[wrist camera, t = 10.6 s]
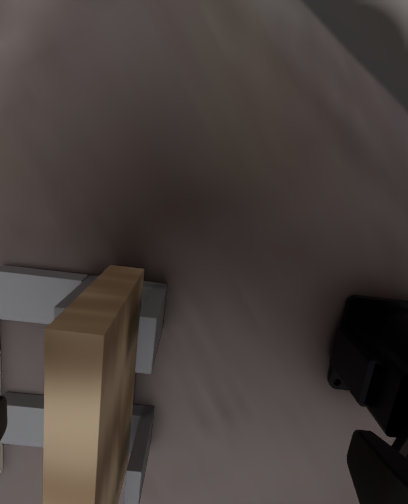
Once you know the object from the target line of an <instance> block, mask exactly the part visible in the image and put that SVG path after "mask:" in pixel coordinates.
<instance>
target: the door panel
mask: <svg viewBox="0 0 408 504" xmlns="http://www.w3.org/2000/svg"><path fill="white" fill-rule="evenodd" d="M143 279H144V269H141V268H133V267H124V266H115V265H110V266H109V267H107V268H106V269H105V270H104V271H103V272H102V273H101V274H100V275H99V276H98V277H97V278H96V279H95V280H94V281H93V282H92V283H91V284H90V285H89V286H88V287H87V288H86V289H85V290H84V291H83V292H82V293H81V294H80V295H79V296H78V297H77V298H76V299H75V300H74V301H73V302H72V303H71V304H70V305H69V306H68V307H67V308H66V309H65V310H64V311H63V312H62V313H61V314H60V315H59V316H57V317H56V318H55V319H54V320H53V321H52V322H51V323H50V324H49V325H48V326H47V327H46V328H45V360H44V459H43V504H118V501H119V497H120V493H121V489H122V485H123V481H124V477H125V473H126V469H127V465H128V456H129V445H130V433H131V421H132V409H133V397H134V386H135V374H136V373H135V367H136V355H137V343H138V331H139V320H140V315H141V303H142V291H143Z"/></svg>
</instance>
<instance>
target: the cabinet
mask: <svg viewBox="0 0 408 504" xmlns="http://www.w3.org/2000/svg"><path fill="white" fill-rule="evenodd" d="M97 277H98V276H95V275H90V276H89V275H87V274H78V273H69V272H61V271H52V270H43V269H35V268H26V267H17V266H9V265H4V266H2V267H0V319H4V320H13V321H22V322H31V323H41V324H50V323H51V322H52V321H53V320H54V319H55V318H56V317H57V316H59V315H60V314H61V313H62V312H63V311H64V310H65V309H66V308H67V307H68V306H69V305H70V304H71V303H72V302H73V301H74V300H75V299H76V298H77V297H78V296H79V295H80V294H81V293H82V292H83V291H84V290H85V289H86V288H87V287H88V286H89V285H90V284H91V283H92V282H93V281H94V280H95V279H96V278H97ZM166 292H167V284H165V283H156V282H148V281H143V291H142V303H141V315H140V320H139V331H138V343H137V355H136V367H135V373H145V374H151V373H152V369H153V365H154V361H155V357H156V353H157V349H158V345H159V341H160V337H161V333H162V329H163V321H164V311H165V302H166ZM0 395H2V394H1V352H0ZM4 396H5V397H6V398H7V416H8V423H7V428H6V431H5V434H4V436H3V437H2V439H1V441H0V473H1V472H2V470H3V444H14V445H25V446H36V447H44V395H34V394H24V393H14V392H7V393H6V394H5V395H4ZM153 417H154V406H144V405H134V404H133V409H132V421H131V433H130V445H129V453H131V455H130V459H129V463H128V467H127V472H126V484H125V495H124V504H139V503H140V498H141V492H142V487H143V482H144V476H145V471H146V466H147V460H148V455H149V449H150V444H151V436H152V426H153Z"/></svg>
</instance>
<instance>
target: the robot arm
mask: <svg viewBox="0 0 408 504" xmlns="http://www.w3.org/2000/svg"><path fill="white" fill-rule="evenodd" d="M356 301H358V304H357V305H356V306H353V303H354V302H356ZM330 363H331V366H330V370H329V374H328V382H329V384H330V386H331V387H332V388H335V389H342V390H349V391H350V392H351V394H352V395H353V396H354V398H355V399H356V401H357V402H358V403H359V405H360V406H362V407H367V409H368V410H369V412H370V413H371V414H372V416H373V417H374V418H375V420H376V421H377V423H378V424H379V425H380V427H381V428H382V430H383V431H384V432H385V434H386V435H387V436H389V437H396V440H395V441H394V443H393V445H392V446H390V445H389V444H388V443H386V442H385V441H384V440H382V439H381V438H380V437H378V436H377V435H376V434H374V433H373V432H371V431H365V430H355V431H354V432H353V435H352V439H351V442H350V446H349V449H348V453H347V464H348V468H349V471H350V474H351V477H352V481H353V484H354V487H355V490H356V493H357V497H358V500H359V503H360V504H408V301H401V300H393V299H384V298H376V297H367V296H358V295H352V296H350V297H349V298H348V299H347V301H346V305H345V309H344V313H343V317H342V321H341V325H340V326H339V327H338V328H337V332H336V336H335V340H334V344H333V348H332V352H331V357H330ZM336 379H338V381H336V382H334V380H336ZM7 423H8V416H7V398H6V397H5V396H4V395H0V441H1V439H2V437H3V436H4V434H5V431H6V428H7Z"/></svg>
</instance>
